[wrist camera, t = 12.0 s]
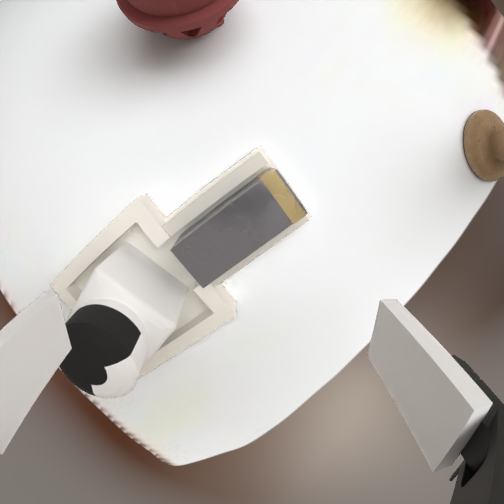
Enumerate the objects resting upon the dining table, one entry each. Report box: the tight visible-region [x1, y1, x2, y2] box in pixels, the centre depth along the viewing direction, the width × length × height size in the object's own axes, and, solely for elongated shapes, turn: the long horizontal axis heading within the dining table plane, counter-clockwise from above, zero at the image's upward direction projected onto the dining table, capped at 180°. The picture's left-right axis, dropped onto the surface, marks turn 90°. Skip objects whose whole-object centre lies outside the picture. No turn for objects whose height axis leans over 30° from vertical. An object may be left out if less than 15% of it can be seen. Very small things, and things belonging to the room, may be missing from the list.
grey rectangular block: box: [171, 167, 308, 288], centre depth 26 cm, size 4×10×5 cm, turn 127°
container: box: [60, 242, 188, 398], centre depth 24 cm, size 8×8×13 cm
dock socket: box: [50, 146, 312, 378], centre depth 29 cm, size 14×25×3 cm, turn 127°
